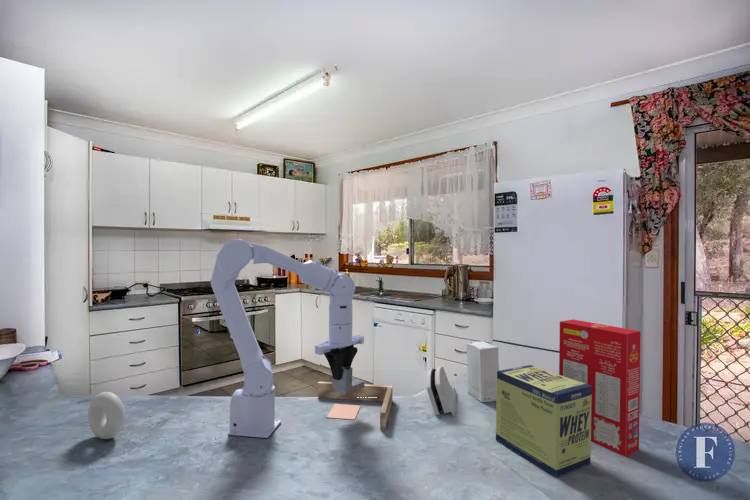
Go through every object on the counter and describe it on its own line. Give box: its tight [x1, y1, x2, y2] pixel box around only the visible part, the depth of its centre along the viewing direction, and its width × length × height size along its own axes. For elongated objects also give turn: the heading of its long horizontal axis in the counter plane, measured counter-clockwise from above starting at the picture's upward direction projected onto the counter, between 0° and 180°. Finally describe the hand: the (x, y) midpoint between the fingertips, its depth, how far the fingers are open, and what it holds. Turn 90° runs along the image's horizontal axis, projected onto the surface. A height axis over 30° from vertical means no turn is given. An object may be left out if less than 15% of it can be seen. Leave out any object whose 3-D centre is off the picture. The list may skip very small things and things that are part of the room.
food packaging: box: [558, 318, 642, 458], centre depth 85 cm, size 15×5×25 cm, turn 31°
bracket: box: [331, 364, 366, 395], centre depth 95 cm, size 6×5×6 cm
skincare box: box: [466, 341, 500, 403], centre depth 108 cm, size 8×6×15 cm
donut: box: [87, 391, 126, 440], centre depth 83 cm, size 10×3×10 cm, turn 65°
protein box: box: [495, 364, 592, 478], centre depth 79 cm, size 10×16×16 cm
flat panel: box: [326, 403, 361, 421], centre depth 97 cm, size 7×8×1 cm
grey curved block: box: [425, 366, 457, 417], centre depth 103 cm, size 17×5×10 cm, turn 167°
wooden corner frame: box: [316, 381, 394, 431], centre depth 98 cm, size 21×17×4 cm
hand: (340, 377), depth 93 cm, fingers closed on bracket
